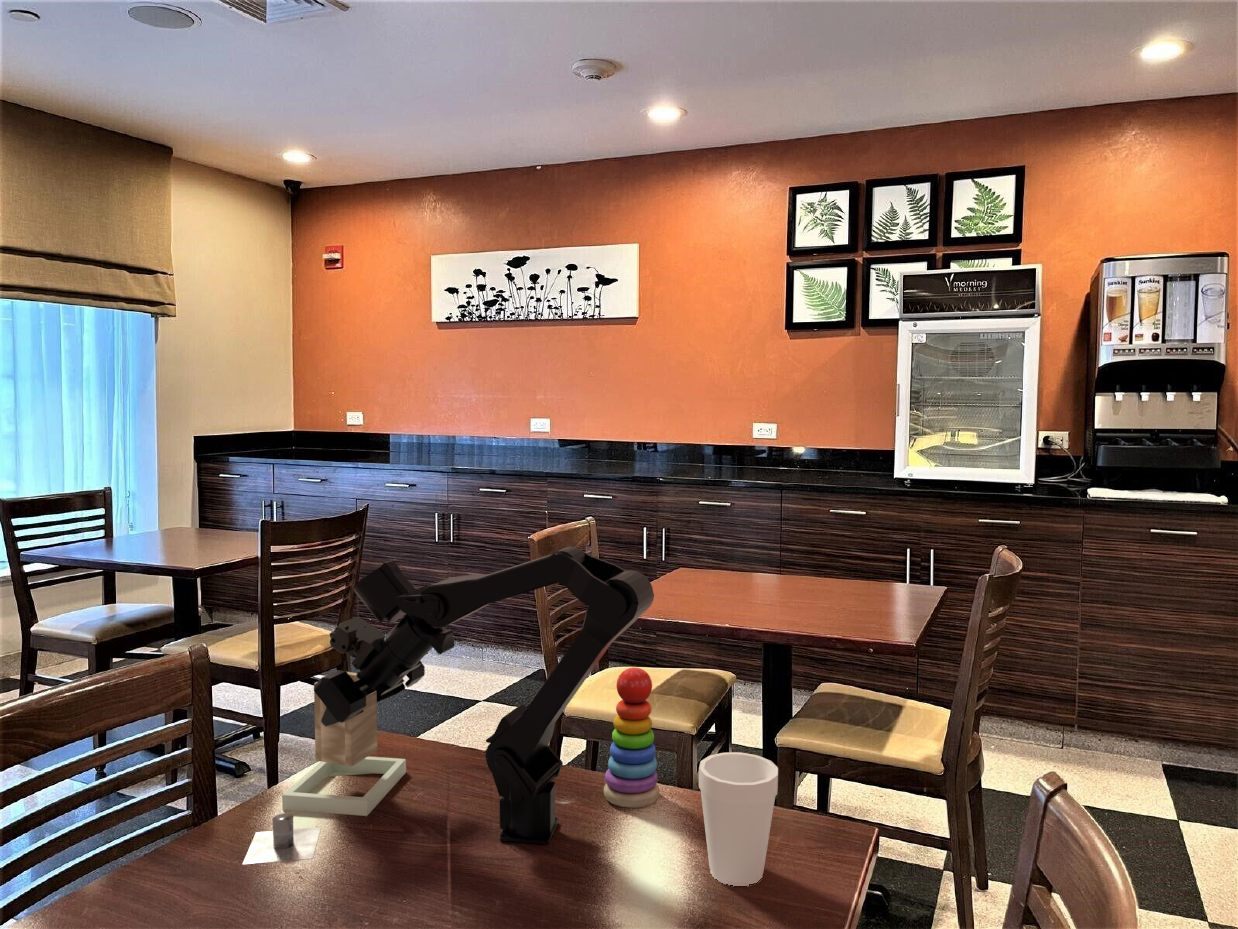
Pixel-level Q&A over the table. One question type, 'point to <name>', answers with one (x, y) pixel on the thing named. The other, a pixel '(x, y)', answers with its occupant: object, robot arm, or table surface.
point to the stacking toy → (632, 745)
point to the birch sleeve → (346, 734)
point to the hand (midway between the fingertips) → (338, 716)
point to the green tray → (306, 801)
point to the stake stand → (282, 842)
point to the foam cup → (737, 814)
